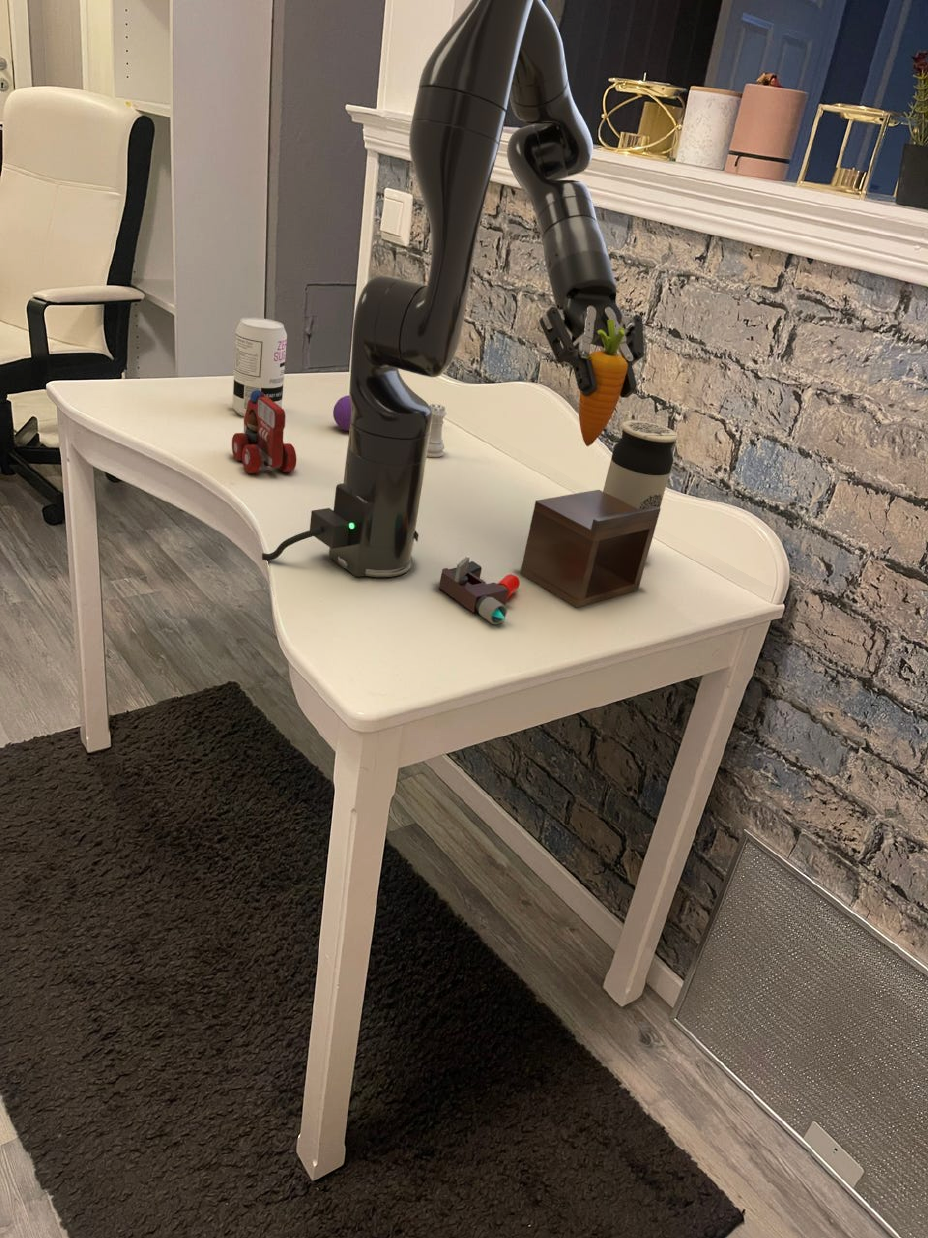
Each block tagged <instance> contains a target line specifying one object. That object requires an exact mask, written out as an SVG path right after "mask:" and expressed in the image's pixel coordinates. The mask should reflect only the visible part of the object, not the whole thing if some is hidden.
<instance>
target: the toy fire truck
mask: <svg viewBox="0 0 928 1238" xmlns="http://www.w3.org/2000/svg"><path fill="white" fill-rule="evenodd" d="M285 428H286V412H285V410H284V409H283V407H282V408H281V407H280V406H278V405H277V404H276V403H275V402H273V401H272V400H271V399H269V398H268V397H265V395H264V393H263V392H262V391H260V390H255V391H253V392H252V393H251V397H250V400H249V401H248V405H247V409H246V413H245V416H244V418H243V432H235V433H234V434H233V435H232V437H231V451H232V455H233V458H234V459H235V460H236V461H238V462H242V466H243V469H244V471H245V472H246V473H247V474H257V473H259V472H260V470H261V468H262V464H263V466H264V467H266V468H267V467H268V468H271V469H276V468H279V470H280V471H282V472H283V473H291V472H293V471H295V469H296V466H297V453H296V452H297V451H296V448H295V447H294V445H293V444H292V443H289V442H286V443H285V441H284V430H285Z"/></svg>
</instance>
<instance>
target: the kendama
mask: <svg viewBox="0 0 928 1238" xmlns="http://www.w3.org/2000/svg"><path fill="white" fill-rule="evenodd" d="M332 415H333V416H332V417H333V419H334V421H335V423H336V425H337V426H338V428H340V429H341V430H344V431H345V432H349V431H350V422H351V403H350V397H349V394H348V395H344V396H342V397H341V398H339V399H338V400H337V401H336V403H335V405H334V407H333V410H332Z"/></svg>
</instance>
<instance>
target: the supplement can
mask: <svg viewBox="0 0 928 1238" xmlns="http://www.w3.org/2000/svg"><path fill="white" fill-rule="evenodd" d="M234 339H235V340H234V342H235V343H234V361H233V363H234V364H233V379H232V380H233V381H232V382H233V383H232V404H231V407H232V409H233V410H234V411H235V413H237V414H238V415H240V416H242V417H245V413H246V409H247V405H248V401H249V400H250V397H251V393H252V392H253V391H255V390H260V391H262V392H263V393H264V395H265V397H268V398H269V399H271V400H272V401H273V402H275V403H276V404H277V405H278V406H280V407H281V408H282V409H283V399H284V397H283V396H284V382H285V368H286V356H287V355H286V354H287V341H288V333H287V331H286V328H285V324H283V323H282V322H280V321H277V320H273V319H269V318H268V319H267V318H262V317H261V318H260V317H243V318H240V321H239V324H238V325H237V327H236V329H235V338H234Z"/></svg>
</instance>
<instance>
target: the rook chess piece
mask: <svg viewBox="0 0 928 1238" xmlns="http://www.w3.org/2000/svg"><path fill="white" fill-rule="evenodd" d="M429 406H430V408H431V410H432V424H431V431H430V438H429V444H428V451H427V457H428V458H433V459H434V458H436V459H437V458H441V457H442V456H443V455H444V453H445V452H444V449H445V444H444V441H443V437H442V432H443V431H442V430H443V425H444V423H445V422H444V418H445V416H446V415H447V412H446V407H445V406H444V405H441V404H437V406H436V403H431V404H429ZM427 457H426V458H427Z"/></svg>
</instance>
